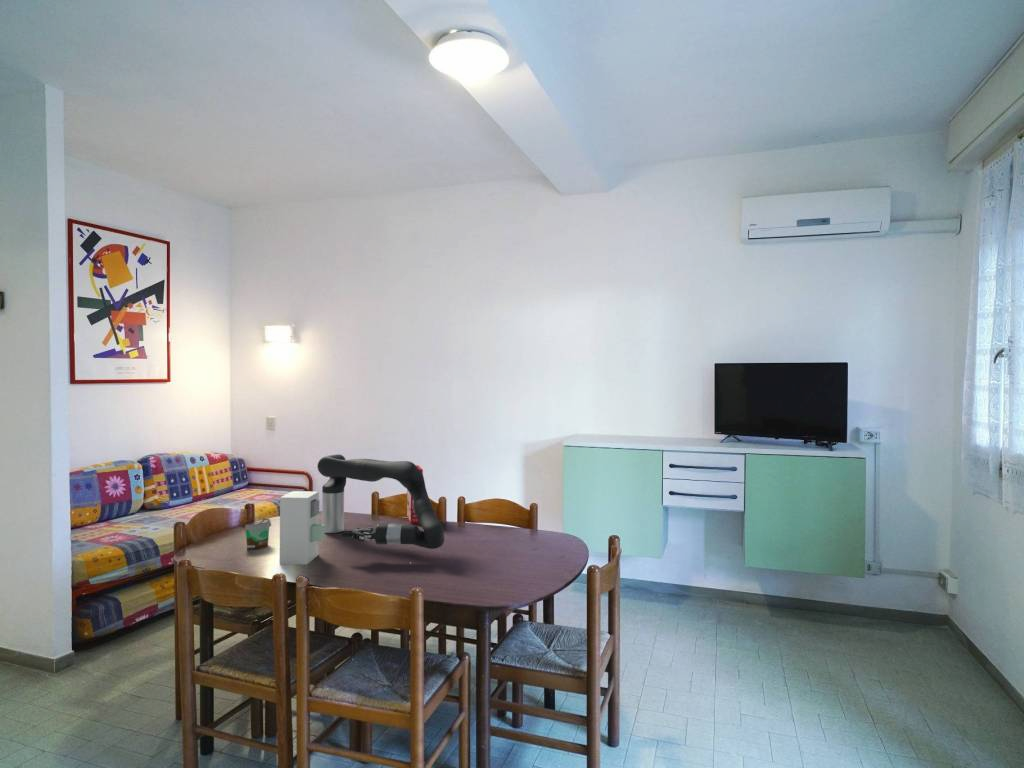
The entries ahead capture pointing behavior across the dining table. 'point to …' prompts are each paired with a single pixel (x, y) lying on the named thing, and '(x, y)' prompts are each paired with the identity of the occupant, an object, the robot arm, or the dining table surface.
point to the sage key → (317, 532)
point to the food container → (257, 534)
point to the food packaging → (412, 506)
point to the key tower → (297, 528)
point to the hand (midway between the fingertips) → (342, 533)
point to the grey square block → (314, 507)
